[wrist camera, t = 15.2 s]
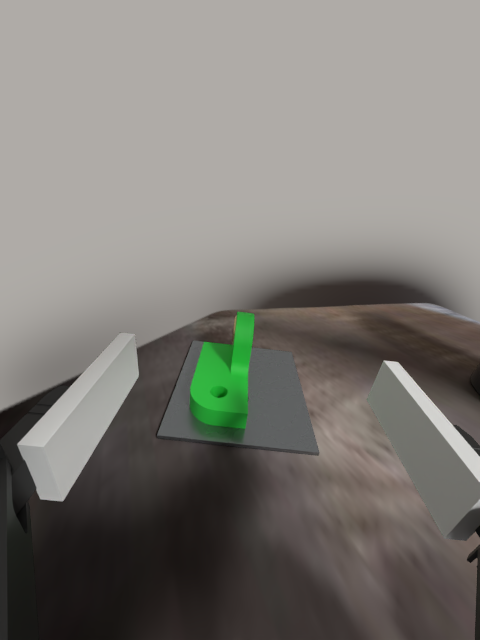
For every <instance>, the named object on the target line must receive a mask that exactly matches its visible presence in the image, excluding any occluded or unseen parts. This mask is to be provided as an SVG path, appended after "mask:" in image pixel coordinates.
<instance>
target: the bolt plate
mask: <svg viewBox="0 0 480 640" xmlns="http://www.w3.org/2000/svg"><path fill="white" fill-rule="evenodd" d="M236 319H237V315H236V316H235V320H234V328H233V337H232V345H233V343H234V335H235V327H236ZM203 344H204V342H202V341H194V340H193V342H192V345H191V347H190V350H189V353H188V355H187V358H186V360H185V363H184V366H183V368H182V371H181V374H180V376H179V379H178V381H177V384H176V387H175V389H174V392H173V395H172V397H171V400H170V402H169V405H168V408H167V410H166V413H165V415H164V418H163V421H162V423H161V426H160V429H159V431H158V434H157V438H160V439H169V440H178V441H187V442H197V443H206V444H215V445H225V446H234V447H243V448H252V449H262V450H271V451H280V452H289V453H299V454H308V455H317V456H318V455H319V450H318V446H317V442H316V439H315V435H314V432H313V428H312V424H311V421H310V417H309V413H308V410H307V406H306V403H305V399H304V395H303V392H302V388H301V384H300V381H299V377H298V374H297V370H296V366H295V363H294V359H293V355H292V352H287V351H278V350H270V349H261V348H253V347H252V348H251V355H250V361H249V368H248V416H247V422H246V427H245V429H242V428H232V427H223V426H214V425H209V424H206V423H203V422H201V421H200V420H198V419H197V418H196V417H195V416H194V415H193V414H192V412H191V409H190V387H191V383H192V380H193V377H194V373H195V370H196V367H197V363H198V360H199V357H200V353H201V350H202V347H203Z"/></svg>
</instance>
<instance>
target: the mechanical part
mask: <svg viewBox="0 0 480 640" xmlns="http://www.w3.org/2000/svg"><path fill="white" fill-rule="evenodd" d="M253 333H254V314H253V313H245V312H237V319H236V327H235V335H234V343H233V345H229V344H220V343H211V342H204V344H203V347H202V350H201V353H200V357H199V360H198V363H197V367H196V370H195V373H194V377H193V380H192V383H191V387H190V409H191V412H192V414H193V415H194V416H195V417H196V418H197V419H198V420H200V421H201V422H203V423H206V424H209V425H214V426H223V427H232V428H242V429H245V427H246V422H247V416H248V368H249V361H250V355H251V348H252V341H253Z"/></svg>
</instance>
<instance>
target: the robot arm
mask: <svg viewBox="0 0 480 640" xmlns="http://www.w3.org/2000/svg"><path fill="white" fill-rule="evenodd" d="M138 377H139V371H138V361H137V350H136V339H135V334H130V333H120V334H118V336H117V337H116V338H115V339H114V340H113V341H112V342H111V344H109V345H108V346H107V347H106V349H105V350H104V351H103V352H102V353H101V354H100V355H99V356H98V357H97V358H96V359H95V361H94V362H93V363H92V364H91V365H90V366H89V367H88V368H87V369H86V370H85V371H84V372H83V373H82V375H81V376H80V377H79V378H78V379H77V380H76V381H75V382H74V383H73V384H72V385H71V386H63V385H60V386H59V387H57V388H55V389H53V390H52V391H50V392H48V393H47V394H46V395H45V396H44V397H43V398H42V399H41V400H40V401H39V402H38V403H37V405H36V406H34V407H33V408H32V409H31V410H30V411H29V412H28V414H26V415H25V416H24V417H23V418H22V419H21V420H20V421H19V422H18V423H17V424H16V425H15V426H14V427H13V428H12V429H11V430H10V431H9V432H8V433H7V434H5V435H4V436H3V437H2V438H1V439H0V640H39V632H38V618H37V604H36V590H35V576H34V562H33V548H32V534H31V520H30V506H29V503H28V500H29V498H30V497H31V495H32V494H33V493H34V491H35V490H37V493H38V495H39V497H40V499H43V500H53V501H64V499H65V497H66V496H67V494H68V492H69V491H70V489H71V487H72V486H73V484H74V482H75V481H76V479H77V478H78V476H79V474H80V473H81V471H82V469H83V468H84V466H85V464H86V463H87V461H88V459H89V458H90V456H91V454H92V453H93V451H94V449H95V448H96V446H97V444H98V443H99V441H100V439H101V438H102V436H103V435H104V433H105V431H106V430H107V428H108V426H109V425H110V423H111V421H112V420H113V418H114V416H115V415H116V413H117V411H118V410H119V408H120V406H121V405H122V403H123V401H124V400H125V398H126V396H127V395H128V393H129V392H130V390H131V388H132V387H133V385H134V383H135V382H136V380H137V378H138ZM471 383H472V385H473V387H474V388H475V389H476V391H477V392H478V393H479V394H480V364H479V365H478V366H477V368H476V369H475V371H474V372H473V374H472V375H471ZM367 401H368V403H369V405H370V406H371V408H372V410H373V412H374V414H375V415H376V417H377V419H378V421H379V423H380V424H381V426H382V428H383V430H384V431H385V433H386V435H387V437H388V439H389V440H390V442H391V444H392V446H393V448H394V449H395V451H396V453H397V455H398V457H399V458H400V460H401V462H402V464H403V465H404V467H405V469H406V471H407V473H408V474H409V476H410V478H411V480H412V482H413V483H414V485H415V487H416V489H417V491H418V492H419V494H420V496H421V498H422V499H423V501H424V503H425V505H426V507H427V508H428V510H429V512H430V514H431V516H432V517H433V519H434V521H435V523H436V525H437V526H438V528H439V530H440V532H441V533H442V535H443V537H444V539H454V540H465V541H466V540H467V539H468V538H469V537H470V536H471V535H472V534H473V533H474V532H475V531H476V532H477V534H478V535H479V537H480V446H479V445H478V443H477V442H476V441H475V440H474V439H473V438H472V437H471V436H470V435H469V434H467V433H466V432H465V431H464V430H462V429H461V428H460V427H458V426H457V425H452V424H451V423H450V422H449V421H448V419H447V418H446V417H445V416H444V415H443V414H442V413H441V411H440V410H439V409H438V408H437V407H436V406H435V404H434V403H433V402H432V401H431V400H430V399H429V397H428V396H427V395H426V394H425V393H424V392H423V391H422V389H421V388H420V387H419V386H418V385H417V384H416V382H415V381H414V380H413V379H412V378H411V377H410V376H409V374H408V373H407V372H406V371H405V370H404V369H403V367H402V366H401V365H400V364H399V363H398V362H393V361H384V360H383V363H382V365H381V367H380V370H379V372H378V374H377V377H376V379H375V381H374V384H373V386H372V388H371V391H370V393H369V395H368V398H367ZM476 558H478V565H477V594H476V622H475V640H480V545H479V546H478V547H477V548H476V549H475V550H474V551H472V552H471V553H470V554H469V556H468V558H467V561H469V562H470V563H471V562H472V561H473V560H474V559H476Z"/></svg>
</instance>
